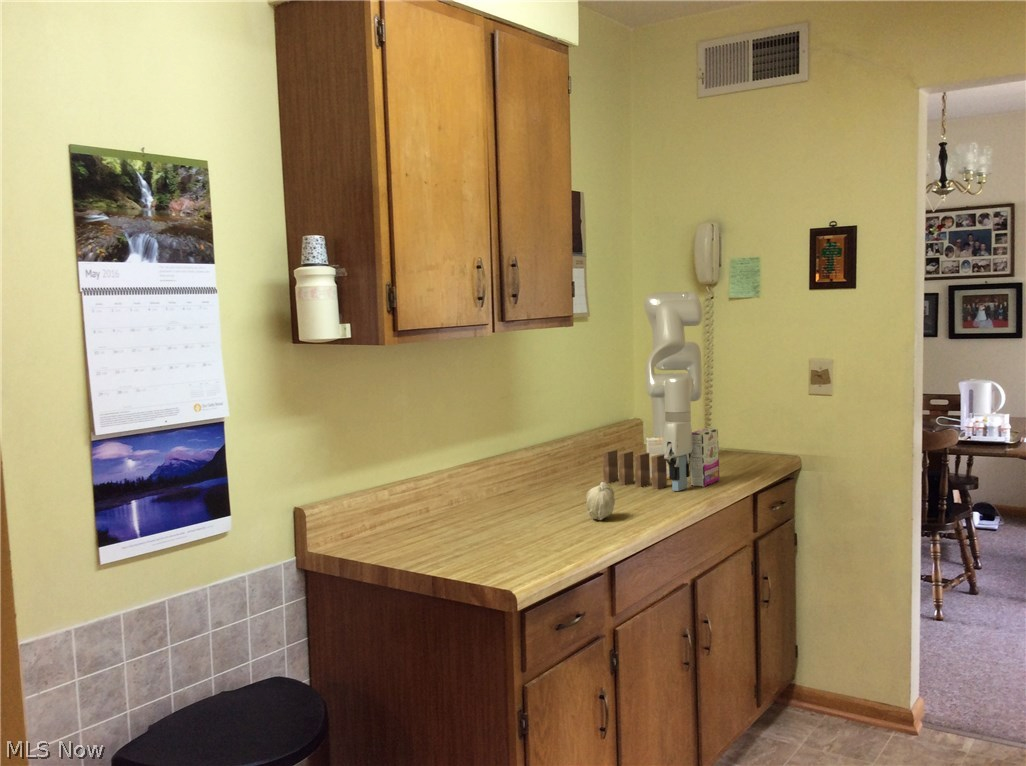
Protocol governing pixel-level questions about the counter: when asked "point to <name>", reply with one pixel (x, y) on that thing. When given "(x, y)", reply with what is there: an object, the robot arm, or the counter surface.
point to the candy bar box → (704, 457)
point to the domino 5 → (681, 483)
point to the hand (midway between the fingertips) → (679, 477)
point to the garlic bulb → (600, 501)
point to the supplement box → (655, 451)
